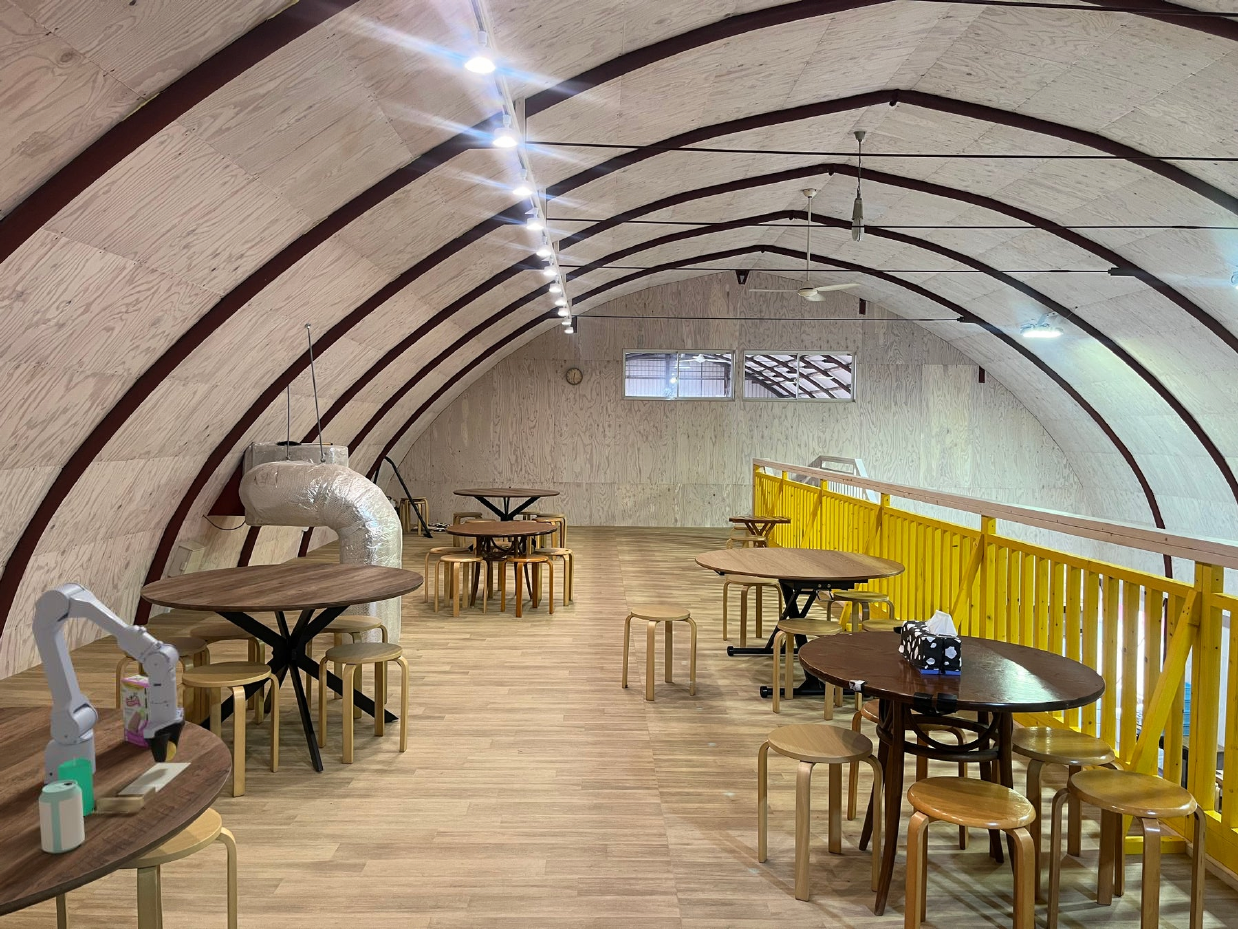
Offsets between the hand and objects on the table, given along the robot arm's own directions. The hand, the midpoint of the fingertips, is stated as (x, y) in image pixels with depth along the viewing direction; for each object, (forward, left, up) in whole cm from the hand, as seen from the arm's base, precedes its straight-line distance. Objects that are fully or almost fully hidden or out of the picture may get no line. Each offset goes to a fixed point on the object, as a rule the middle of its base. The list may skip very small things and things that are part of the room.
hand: (165, 757), depth 213 cm
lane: (0, -8, -4) cm, 9 cm away
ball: (0, 0, -1) cm, 1 cm away
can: (-2, -35, -4) cm, 35 cm away
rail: (0, -17, -3) cm, 17 cm away
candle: (-8, -20, -4) cm, 22 cm away
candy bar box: (-14, +18, -4) cm, 23 cm away
